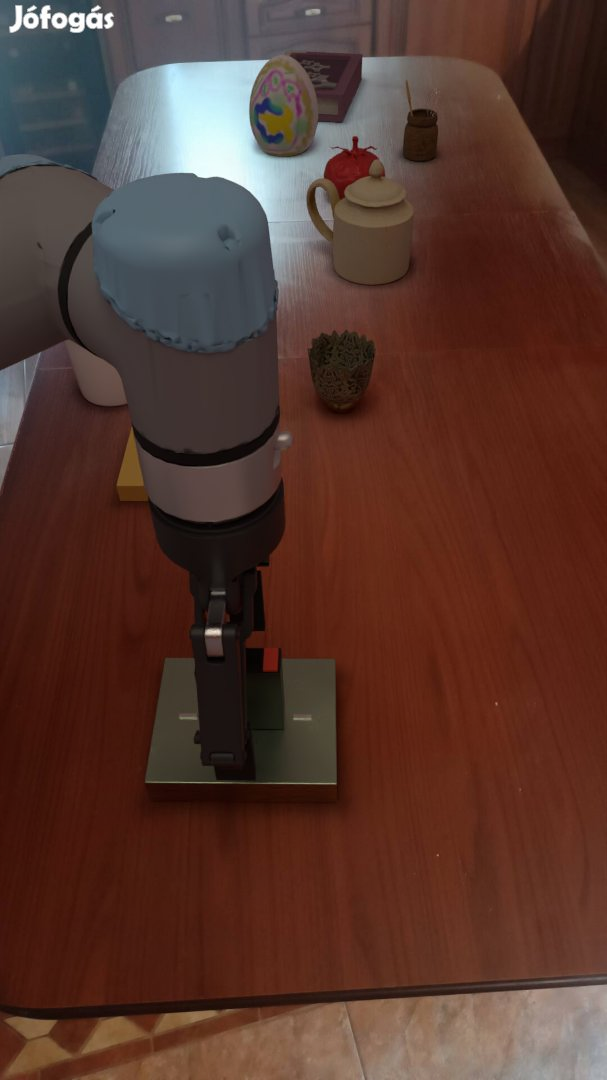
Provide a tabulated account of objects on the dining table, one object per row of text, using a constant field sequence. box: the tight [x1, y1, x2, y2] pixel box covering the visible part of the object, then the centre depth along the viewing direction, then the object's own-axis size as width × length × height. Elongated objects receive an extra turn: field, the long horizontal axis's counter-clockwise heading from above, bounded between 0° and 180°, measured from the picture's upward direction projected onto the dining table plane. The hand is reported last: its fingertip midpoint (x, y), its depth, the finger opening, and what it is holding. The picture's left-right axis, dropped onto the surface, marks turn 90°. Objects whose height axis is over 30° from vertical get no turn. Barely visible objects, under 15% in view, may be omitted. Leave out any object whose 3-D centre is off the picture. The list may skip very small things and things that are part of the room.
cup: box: [307, 329, 377, 414], centre depth 90 cm, size 8×7×8 cm
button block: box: [115, 426, 148, 502], centre depth 85 cm, size 12×10×4 cm
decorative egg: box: [248, 54, 319, 157], centre depth 141 cm, size 12×12×15 cm
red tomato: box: [323, 135, 386, 200], centre depth 128 cm, size 10×10×9 cm
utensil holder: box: [402, 79, 443, 162], centre depth 138 cm, size 6×6×12 cm
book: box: [283, 49, 363, 123], centre depth 162 cm, size 25×16×5 cm, turn 169°
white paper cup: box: [63, 340, 127, 407], centre depth 92 cm, size 10×10×12 cm
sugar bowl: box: [305, 159, 415, 286], centre depth 110 cm, size 15×11×15 cm
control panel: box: [144, 657, 338, 804], centre depth 63 cm, size 14×11×3 cm
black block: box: [194, 647, 285, 729], centre depth 59 cm, size 6×2×8 cm, turn 89°
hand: (242, 696), depth 60 cm, fingers open, 12 cm apart
